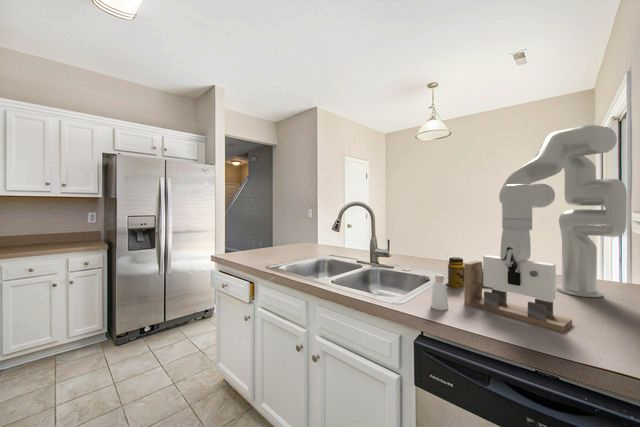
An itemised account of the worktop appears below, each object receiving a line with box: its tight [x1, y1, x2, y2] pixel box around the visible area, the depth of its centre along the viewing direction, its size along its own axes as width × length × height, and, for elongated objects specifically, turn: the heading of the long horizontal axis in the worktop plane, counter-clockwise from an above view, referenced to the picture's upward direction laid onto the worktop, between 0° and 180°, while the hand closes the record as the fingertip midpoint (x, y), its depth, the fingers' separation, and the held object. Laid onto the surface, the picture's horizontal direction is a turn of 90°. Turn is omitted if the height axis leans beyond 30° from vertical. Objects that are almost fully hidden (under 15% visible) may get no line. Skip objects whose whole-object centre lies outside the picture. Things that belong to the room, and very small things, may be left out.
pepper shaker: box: [430, 273, 449, 311], centre depth 90 cm, size 5×5×11 cm
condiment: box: [444, 256, 464, 290], centre depth 112 cm, size 7×8×12 cm
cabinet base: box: [463, 260, 573, 333], centre depth 84 cm, size 8×26×14 cm, turn 34°
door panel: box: [482, 254, 557, 302], centre depth 83 cm, size 4×18×10 cm, turn 34°
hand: (516, 283), depth 83 cm, fingers closed on door panel, 3 cm apart
